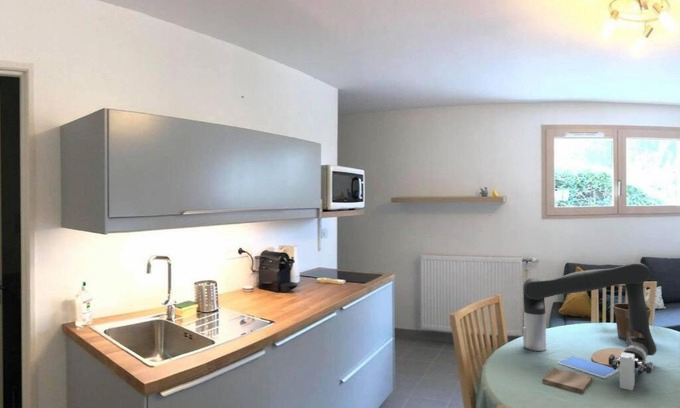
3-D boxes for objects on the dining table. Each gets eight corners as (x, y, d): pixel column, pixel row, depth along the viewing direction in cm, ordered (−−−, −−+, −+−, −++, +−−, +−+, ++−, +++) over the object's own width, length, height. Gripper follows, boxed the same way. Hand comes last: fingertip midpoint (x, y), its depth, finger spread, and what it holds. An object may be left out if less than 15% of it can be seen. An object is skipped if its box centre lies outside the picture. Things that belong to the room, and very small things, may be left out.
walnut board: (542, 382, 160) (542, 378, 160) (553, 371, 170) (553, 367, 170) (583, 393, 150) (582, 389, 150) (592, 380, 160) (592, 377, 160)
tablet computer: (556, 364, 178) (556, 361, 178) (572, 358, 185) (572, 355, 185) (604, 380, 162) (604, 377, 162) (619, 372, 168) (619, 369, 168)
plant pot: (613, 331, 217) (612, 301, 217) (651, 336, 208) (650, 305, 208) (612, 340, 204) (611, 308, 204) (652, 346, 195) (652, 312, 195)
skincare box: (621, 382, 158) (620, 351, 158) (635, 385, 156) (634, 353, 156) (619, 388, 154) (618, 356, 154) (634, 391, 151) (633, 358, 151)
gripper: (612, 343, 170) (603, 355, 158) (656, 351, 160) (649, 364, 148) (613, 361, 170) (604, 374, 158) (656, 370, 160) (650, 385, 148)
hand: (626, 369), depth 153 cm, fingers open, 7 cm apart
